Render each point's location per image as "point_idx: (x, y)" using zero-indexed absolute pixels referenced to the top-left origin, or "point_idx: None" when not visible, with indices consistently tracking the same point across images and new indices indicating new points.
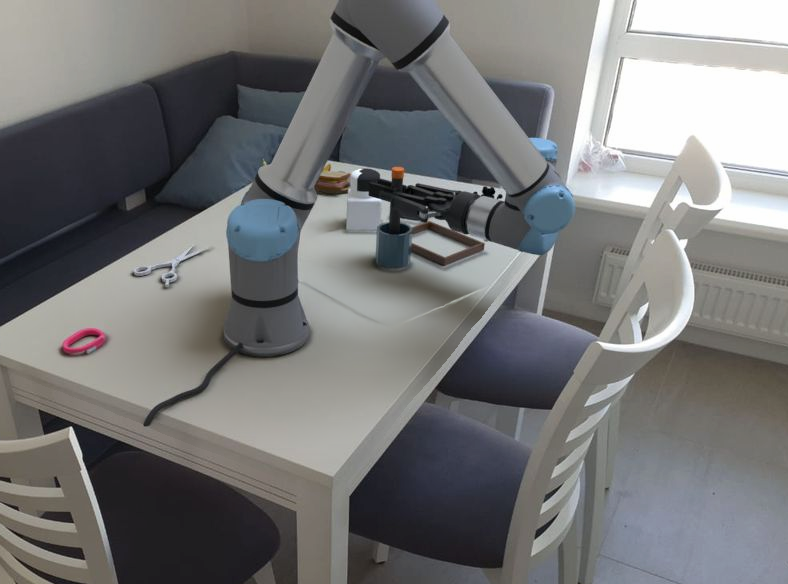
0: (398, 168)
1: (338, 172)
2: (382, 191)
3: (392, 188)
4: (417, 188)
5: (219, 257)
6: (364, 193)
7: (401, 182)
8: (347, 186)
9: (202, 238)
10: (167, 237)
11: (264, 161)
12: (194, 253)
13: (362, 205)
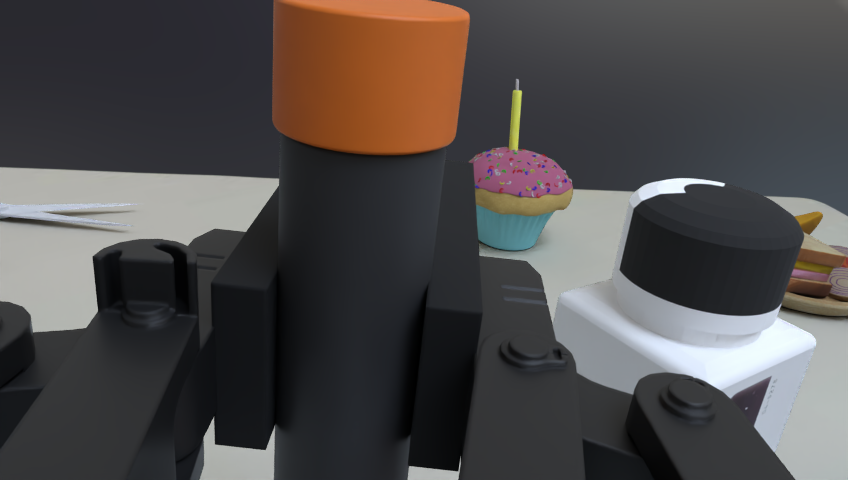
0: (389, 3)
1: (813, 239)
2: (222, 242)
3: (264, 253)
4: (521, 453)
5: (79, 259)
6: (642, 299)
7: (344, 221)
8: (816, 294)
9: (203, 208)
10: (174, 175)
11: (517, 88)
12: (66, 218)
13: (610, 354)
